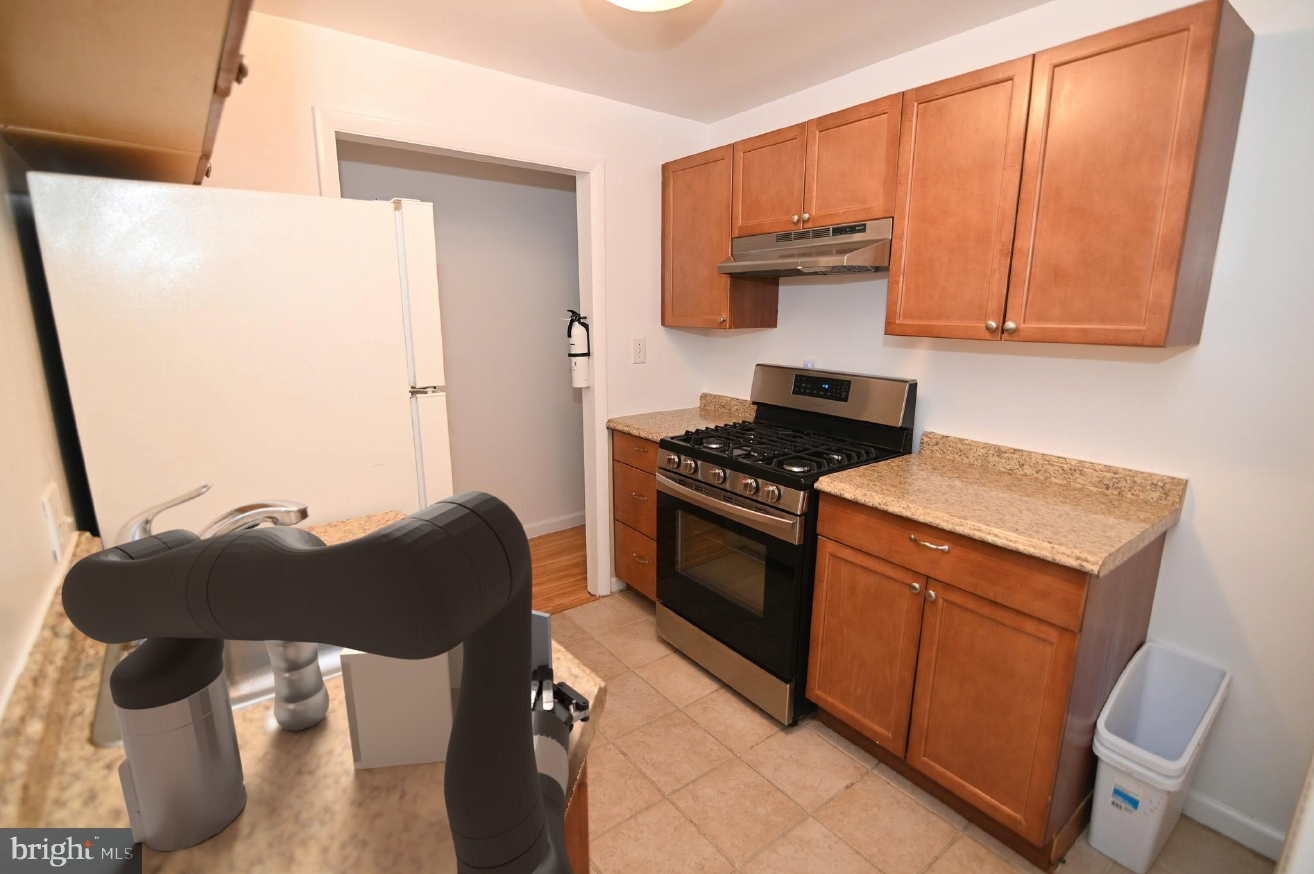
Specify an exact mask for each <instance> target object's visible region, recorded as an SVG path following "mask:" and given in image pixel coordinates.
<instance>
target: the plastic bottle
mask: <svg viewBox="0 0 1314 874" xmlns="http://www.w3.org/2000/svg"><path fill="white" fill-rule="evenodd" d="M263 642H264V645H265V648H266V651H267V654H268V657H269V660H270V665H271V667H272V672H273V680H274V681H273V684H274V703H273V704H274V705H273V715H274V717H275V718H276V722H277V724H278V726H280V727H281V728H283V729H285V730H287V731H291V732H292V731H293V732H294V731H295V732H296V731H302V730H306V729H309V728H311V727H313V726H315V725H317V724H319V723H320V722H321V721H322V720H323V719H324V717H326V714H327V712H328V710H329V707H330V706H329V705H330V695H329V691H328V689H327V686H326V684H325V682H324V679H323V674H322V670H321V666H320V662H319V650H318V643H308V642H293V641H279V640H268V641H263Z"/></svg>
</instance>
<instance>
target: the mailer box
mask: <svg viewBox="0 0 1314 874" xmlns="http://www.w3.org/2000/svg"><path fill="white" fill-rule="evenodd" d="M339 659H340V667H341V675H342V682H343V683H342V684H343V690H344V699H345V700H344V701H345V705H346V706H345V707H346V716H347V721H348V728H349V729H348V730H349V731H348V732H349V736H350V737H349V738H350V739H349V740H350V746H351V747H350V748H351V754H352V760H353V761H352V762H353V767H354V768H353V769H354V770H362V769H373V768H376V769H377V768H386V767H387V768H388V767H396V766H397V767H398V766H409V765H419V764H420V765H421V764H431V763H441V762H443V763H444V762H446V755H447V749H448V744H449V739H450V734H451V730H452V725H453V721H454V716H455V711H456V706H457V702H458V696H459V690H460V684H461V675H462V666H463V642H462V643H460V644H459V645H458V646H456V647H455V648H453V649H451V650H450V651H448V652H445V653H443V654H441V655H438V656H435V657H432V658H427V659H420V660H407V659H398V658H391V657H385V656H380V655H375V654H371V653H366V652H361V651H357V650H352V649H348V648H343V649H342V651H341V652H340V654H339Z"/></svg>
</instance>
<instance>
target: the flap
mask: <svg viewBox="0 0 1314 874" xmlns="http://www.w3.org/2000/svg"><path fill="white" fill-rule="evenodd" d="M551 618H552V617H551V613H547V612H542V611H538V610H534V609H532V671H533V670H534V669H537V667H538V665H548V666H549V668H552V669H553V670H554V668H553V646H552V645H553V643H552V641H553V640H552V619H551ZM540 699H543V695H540Z"/></svg>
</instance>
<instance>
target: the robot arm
mask: <svg viewBox="0 0 1314 874" xmlns="http://www.w3.org/2000/svg"><path fill="white" fill-rule="evenodd" d="M528 538H529V537H528V536H527V533H526V531H525V528H524V527H523V524H522V522H521V521H520V519H519V518H518V516H517V515H516V513H515V512H514V510H513V509H512V508H511V507H510V506H509V505H508V504H507V503H505V502H504V501H503V500H501V499H500V498H499V497H497V496H495V495H493V494H490V493H487V492H484V491H478V490H468V491H463V492H459V493H456V494H453V495H452V496H448V497H446V498H444V499H441V500H439V501H437V502H434V503H433V504H430V505H429V506H427V507H425V508H423V509H421V510H419V511H416V512H414V513H411V514H409V515H407V516H405V517H403V518H400V519H398V520H396V521H393V522H392V523H389V524H386V525H385V526H383V527H380V528H379V529H377V530H374V531H371V533H368V534H365V535H363V536H361V537H358V538H354V539H351V540H348V541H344V542H339V543H335V544H329V545H327V544H326V543H325V542H324V540H322V539H321V538H320V537H319V536H318V535H315V534H314V533H312V532H311V531H308V530H305V529H303V528H298V527H293V526H292V527H290V526H266V527H265V526H264V527H256V528H248V529H247V528H246V529H240V530H235V531H231V532H225V533H222V534H218V535H213V536H210V537H206V538H203V539H202V538H201V537H200V536H199V535H197V534H196V533H194V532H193V531H190V530H188V529H183V528H182V529H181V528H177V529H176V528H175V529H171V530H167V531H163V532H159V533H155V534H152V535H148V536H145V537H142V538H138V539H134V540H132V541H129V542H125V543H121V544H118V545H115V546H112V547H109V548H105V549H102V550H99V551H96V552H93V553H91V554H89V555H87V556H85V557H83V558H81V559H79V560H78V561H77V562H76V563H74V565H73V566H71V568H70V569H69V571H67V573H66V575H65V577H64V579H63V582H62V586H61V594H60V595H61V603H62V608H63V611H64V612H65V615H66V617H67V618H68V620H69V621H70V623H71V624H72V625H73V626H74V627H75V628H76V629H77V630H78V631H79V632H81V633H82V634H83V635H84V636H86V637H88V638H90V639H92V640H94V641H97V642H100V643H103V644H109V645H117V644H118V645H119V644H124V643H130V642H135V641H140V640H144V641H143V642H142V643H141V644H139V646H137V647H136V648H135V649H134V650H132V651H131V652H130V653H129V654H128V655H126V656H125V657H123V659H121V660H120V662H118V664H116V666H115V667H114V668H113V671H112V672H111V674H110V677H109V691H110V694H111V699H112V701H113V702H112V703H113V706H114V711H115V716H116V719H117V723H118V727H119V731H120V736H121V740H122V744H123V745H122V746H123V749H124V753H125V759H124V760H122V762H121V763H120V764H119V765H118V767H117V773H118V776H119V781H120V786H121V789H122V794H123V797H124V798H123V799H124V804H125V808H126V811H127V816H128V820H129V824H130V829H131V833H132V838H133V841H134V843H136V844H138V843H144V844H146V845H147V846H148V847H149V848H150V849H151V850H152V849H153V850H155V851H161V852H162V851H163V852H170V851H177V850H182V849H186V848H190V847H192V846H195V845H197V844H200V843H201V842H204V841H205V840H207V839H210V838H211V837H213V836H215V835H216V834H219V833H220V832H221V831H222V830H223V829H225V828H227V826H229V825H230V824H231V823H232V821H234V820H235V819H236V818H237V817H238V816H239V814H240V813H242V810H243V808H244V806H245V805H246V802H247V798H248V795H247V788H246V780H245V777H244V771H243V764H242V763H243V762H242V759H241V752H240V747H239V741H238V735H237V730H236V725H235V719H234V714H233V708H232V702H231V698H230V697H231V696H230V691H229V684H228V681H227V675H226V670H225V663H224V657H223V653H224V648H225V640H227V641H244V642H245V641H246V642H249V641H251V642H264V641H268V640H279V641H293V642H308V643H317V644H324V645H330V646H335V647H339V648H343V649H344V648H348V649H352V650H357V651H361V652H366V653H371V654H375V655H380V656H385V657H391V658H398V659H407V660H420V659H427V658H432V657H435V656H438V655H441V654H443V653H445V652H448V651H450V650H451V649H453V648H455V647H456V646H458V645H459V644H460V643H462V642H463V666H462V675H461V684H460V690H459V696H458V702H457V706H456V711H455V716H454V721H453V725H452V730H451V734H450V739H449V744H448V749H447V755H446V761H445V766H444V775H443V791H444V792H443V795H444V803H445V808H446V809H445V810H446V814H447V819H448V823H449V828H450V833H451V838H452V842H453V847H454V852H455V853H454V854H455V859H456V869H457V872H456V873H457V874H575V873H574V869H573V866H572V863H571V860H570V856H569V853H568V849H567V843H566V837H565V835H566V834H565V816H566V815H565V812H566V811H565V810H566V796H567V791H568V790H567V789H568V784H569V778H570V777H569V776H570V769H569V759H570V758H569V754H570V734H571V733H572V731H573V729H574V727H575V723H577V722H578V721H580V722H582V723H586V722H587V723H588V722H589V721H590V700H589V699H588V698H586V697H585V696H584V695H582V694H581V693H580V692H579V691H577V690H576V689H574V688H573V687H571V685H569V684H567V683H566V682H565V681H559V682H557V683H555V682H554V680H555V677H554V676H555V675H554V668H553V667H552V668H553V669H552V668H549V666H548V665H538V667H537V669H534V670H533V671H532V610H533V565H532V563H533V562H532V554H531V548H530V544H529V540H528ZM540 695H543V699H540Z"/></svg>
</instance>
